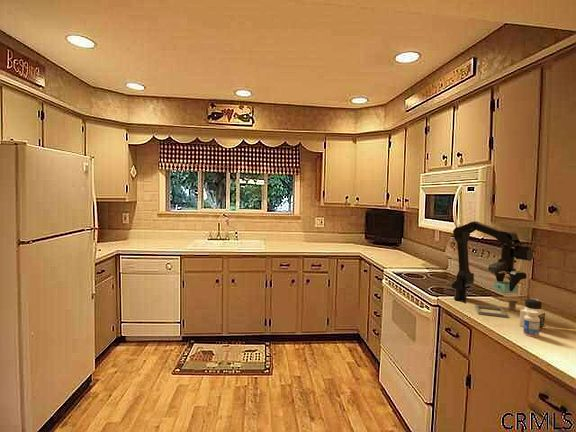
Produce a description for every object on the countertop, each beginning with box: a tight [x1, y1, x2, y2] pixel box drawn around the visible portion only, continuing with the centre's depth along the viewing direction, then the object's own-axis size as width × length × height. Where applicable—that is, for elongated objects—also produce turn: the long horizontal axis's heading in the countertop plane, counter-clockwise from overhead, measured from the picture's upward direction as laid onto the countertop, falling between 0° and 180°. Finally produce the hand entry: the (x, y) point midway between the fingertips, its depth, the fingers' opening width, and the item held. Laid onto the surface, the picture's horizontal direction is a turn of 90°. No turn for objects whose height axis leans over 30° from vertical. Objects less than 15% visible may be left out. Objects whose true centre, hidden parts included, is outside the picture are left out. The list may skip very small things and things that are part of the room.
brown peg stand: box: [500, 299, 522, 314], centre depth 184 cm, size 8×8×5 cm
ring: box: [493, 280, 519, 294], centre depth 182 cm, size 9×7×4 cm
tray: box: [474, 304, 508, 319], centre depth 179 cm, size 12×12×2 cm
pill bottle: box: [522, 310, 540, 338], centre depth 153 cm, size 6×5×10 cm
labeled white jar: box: [519, 298, 546, 331], centre depth 162 cm, size 7×7×12 cm
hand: (505, 289), depth 182 cm, fingers closed on ring, 7 cm apart
